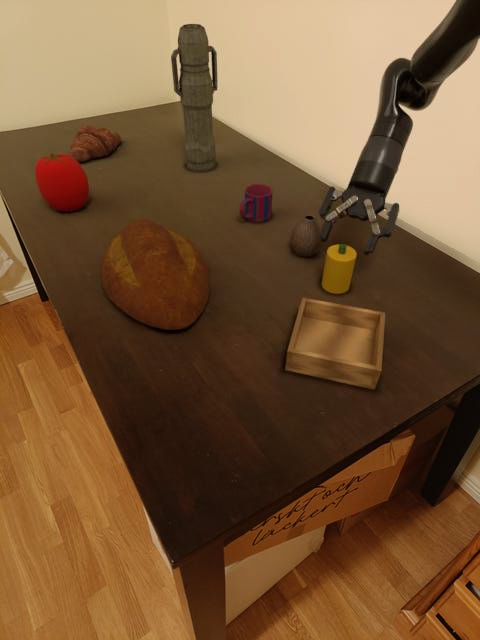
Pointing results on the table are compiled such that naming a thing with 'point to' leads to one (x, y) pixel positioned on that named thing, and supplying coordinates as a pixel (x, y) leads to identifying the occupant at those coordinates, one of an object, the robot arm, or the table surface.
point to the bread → (155, 275)
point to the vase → (306, 236)
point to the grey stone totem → (196, 94)
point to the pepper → (338, 268)
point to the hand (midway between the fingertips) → (344, 247)
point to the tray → (337, 343)
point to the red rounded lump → (62, 182)
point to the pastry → (93, 143)
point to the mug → (257, 203)
